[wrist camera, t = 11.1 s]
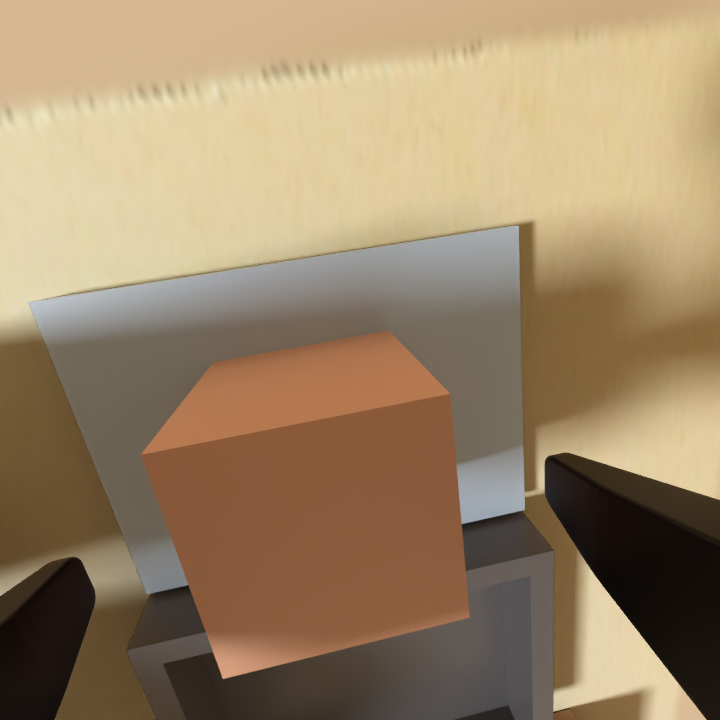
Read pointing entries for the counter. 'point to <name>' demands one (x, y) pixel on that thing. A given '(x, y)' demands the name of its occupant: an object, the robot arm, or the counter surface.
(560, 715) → the cubby
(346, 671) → the box
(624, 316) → the counter surface
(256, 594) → the cube
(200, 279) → the pad
